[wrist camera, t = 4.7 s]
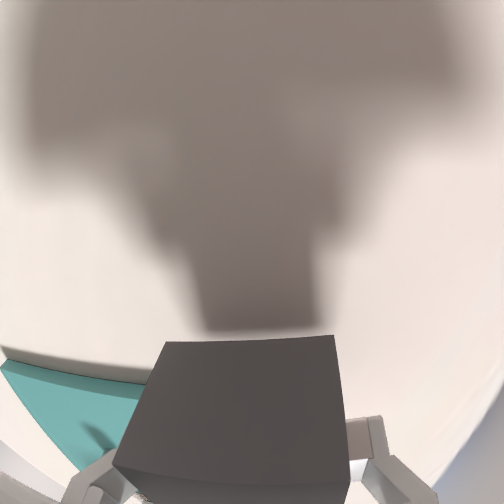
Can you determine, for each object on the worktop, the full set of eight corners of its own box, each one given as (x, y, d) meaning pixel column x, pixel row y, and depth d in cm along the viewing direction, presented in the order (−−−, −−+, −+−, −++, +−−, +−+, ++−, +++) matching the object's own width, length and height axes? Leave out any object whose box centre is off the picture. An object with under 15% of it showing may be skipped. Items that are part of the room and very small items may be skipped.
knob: (165, 341, 10) (107, 472, 6) (333, 334, 10) (351, 491, 5) (204, 430, 13) (179, 531, 8) (330, 429, 12) (334, 539, 7)
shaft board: (7, 359, 18) (-22, 392, 14) (189, 388, 16) (167, 450, 12) (89, 468, 24) (76, 497, 20) (235, 498, 22) (229, 536, 18)
